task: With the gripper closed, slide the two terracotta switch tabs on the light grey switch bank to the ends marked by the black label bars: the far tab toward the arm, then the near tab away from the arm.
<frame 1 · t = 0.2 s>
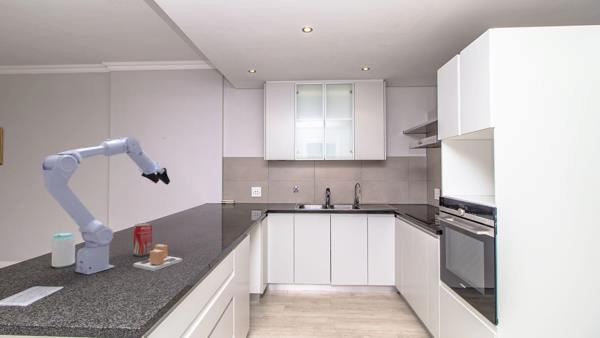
hand: (162, 182, 139), 31 cm above the counter, tool tilted 45°, fingers open, 7 cm apart
soda can: (142, 254, 134), on the counter
switch bank: (158, 264, 120), on the counter
tab near: (156, 256, 116), point 4 cm above the counter, slide at 0.0 cm
white lidded container: (63, 266, 118), on the counter
tab far: (160, 250, 124), point 4 cm above the counter, slide at 0.0 cm
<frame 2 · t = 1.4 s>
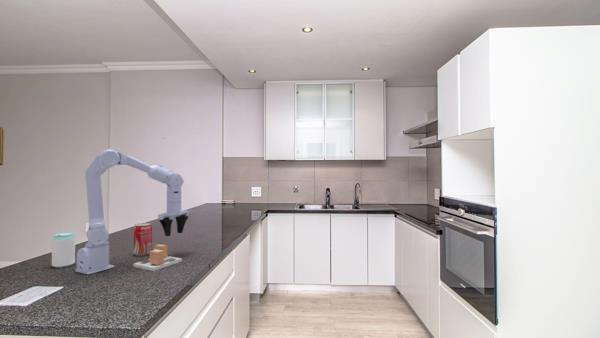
hand: (173, 234, 130), 9 cm above the counter, tool pointing down, fingers open, 6 cm apart
nothing on the counter moved.
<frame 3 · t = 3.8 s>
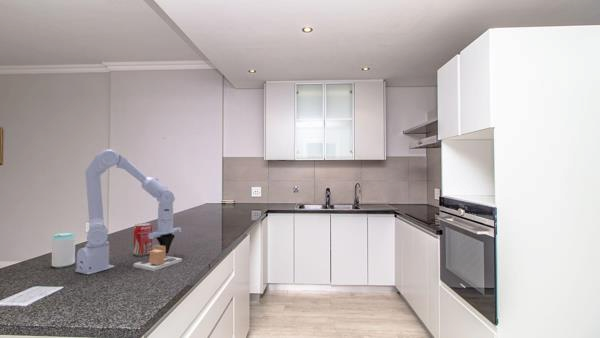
hand: (165, 253, 126), 3 cm above the counter, tool pointing down, fingers closed
tab far: (158, 251, 123), point 4 cm above the counter, slide at 0.9 cm, touching gripper
everything else where it was.
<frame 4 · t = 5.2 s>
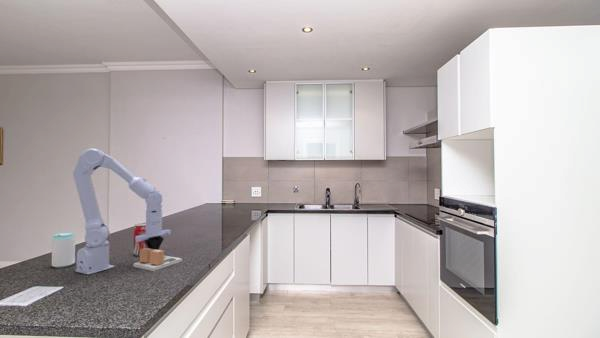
hand: (153, 256, 121), 3 cm above the counter, tool pointing down, fingers closed
tab far: (146, 254, 118), point 4 cm above the counter, slide at 6.4 cm, touching gripper
everything else where it was.
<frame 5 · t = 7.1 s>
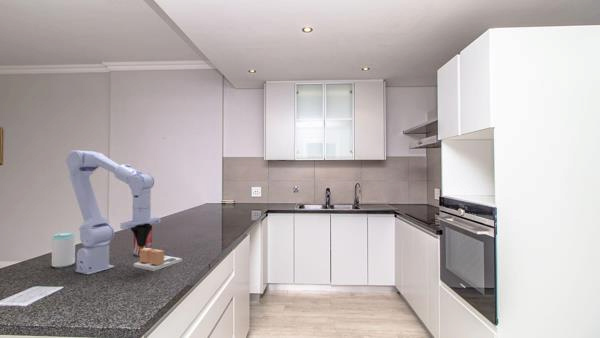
hand: (141, 246, 110), 9 cm above the counter, tool pointing down, fingers closed
tab far: (146, 254, 118), point 4 cm above the counter, slide at 6.4 cm
everything else where it was.
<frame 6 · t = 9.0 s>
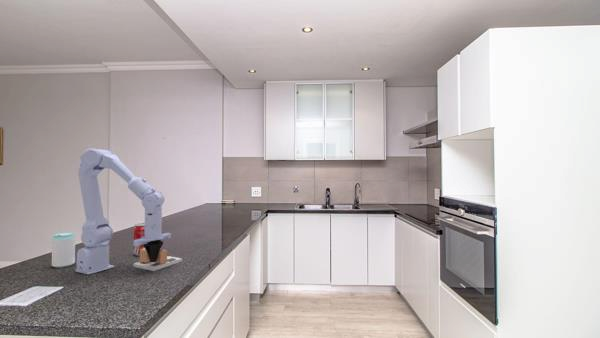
hand: (153, 261, 114), 3 cm above the counter, tool pointing down, fingers closed
tab near: (160, 255, 117), point 4 cm above the counter, slide at 1.5 cm, touching gripper
everything else where it was.
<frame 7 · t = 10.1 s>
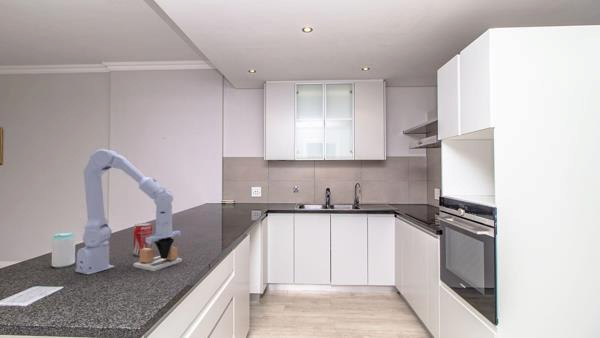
hand: (164, 258, 119), 3 cm above the counter, tool pointing down, fingers closed
tab near: (170, 252, 121), point 4 cm above the counter, slide at 6.4 cm, touching gripper
everything else where it was.
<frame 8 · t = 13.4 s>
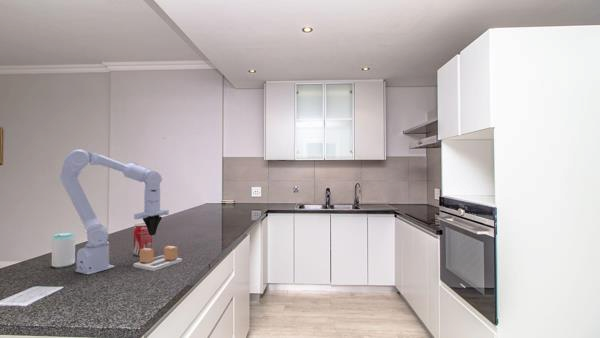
hand: (152, 234, 124), 10 cm above the counter, tool pointing down, fingers closed
tab near: (170, 252, 122), point 4 cm above the counter, slide at 6.4 cm
everything else where it was.
at the end: tab far slide at 6.4 cm; tab near slide at 6.4 cm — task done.
